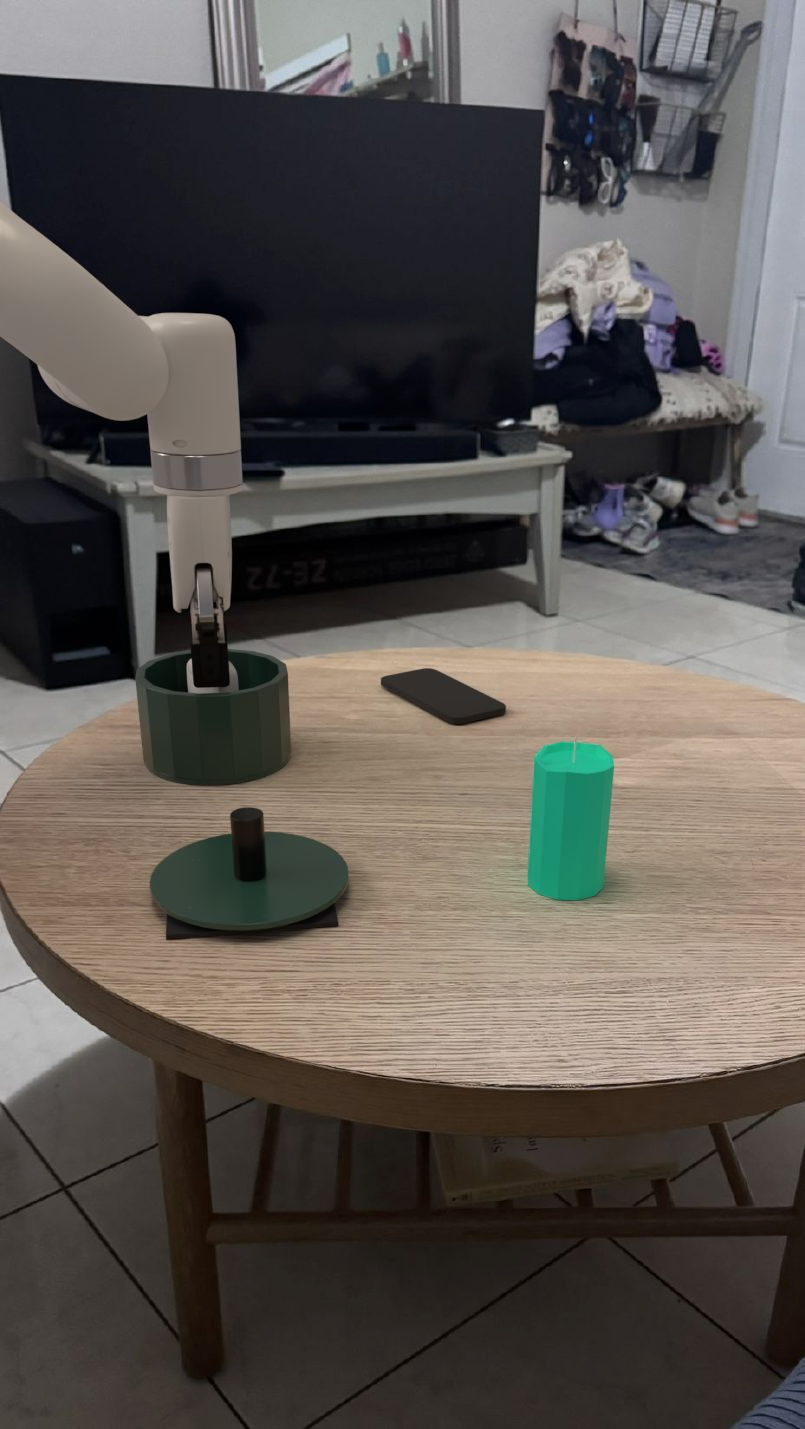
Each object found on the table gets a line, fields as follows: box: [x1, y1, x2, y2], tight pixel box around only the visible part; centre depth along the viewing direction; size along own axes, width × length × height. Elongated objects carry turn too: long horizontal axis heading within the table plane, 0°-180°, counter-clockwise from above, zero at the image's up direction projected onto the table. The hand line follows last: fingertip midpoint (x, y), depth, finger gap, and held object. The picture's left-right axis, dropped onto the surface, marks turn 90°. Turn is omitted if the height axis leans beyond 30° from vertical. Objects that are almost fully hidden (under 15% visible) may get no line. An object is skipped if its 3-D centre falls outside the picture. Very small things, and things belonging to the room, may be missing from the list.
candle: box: [526, 736, 615, 901], centre depth 88 cm, size 6×6×12 cm
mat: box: [165, 902, 339, 941], centre depth 87 cm, size 12×12×1 cm
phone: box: [380, 667, 507, 725], centre depth 126 cm, size 7×1×15 cm
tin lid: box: [149, 806, 350, 930], centre depth 86 cm, size 15×15×6 cm
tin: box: [134, 648, 292, 786], centre depth 109 cm, size 14×14×8 cm
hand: (211, 673), depth 107 cm, fingers closed on eye dropper bottle, 5 cm apart
